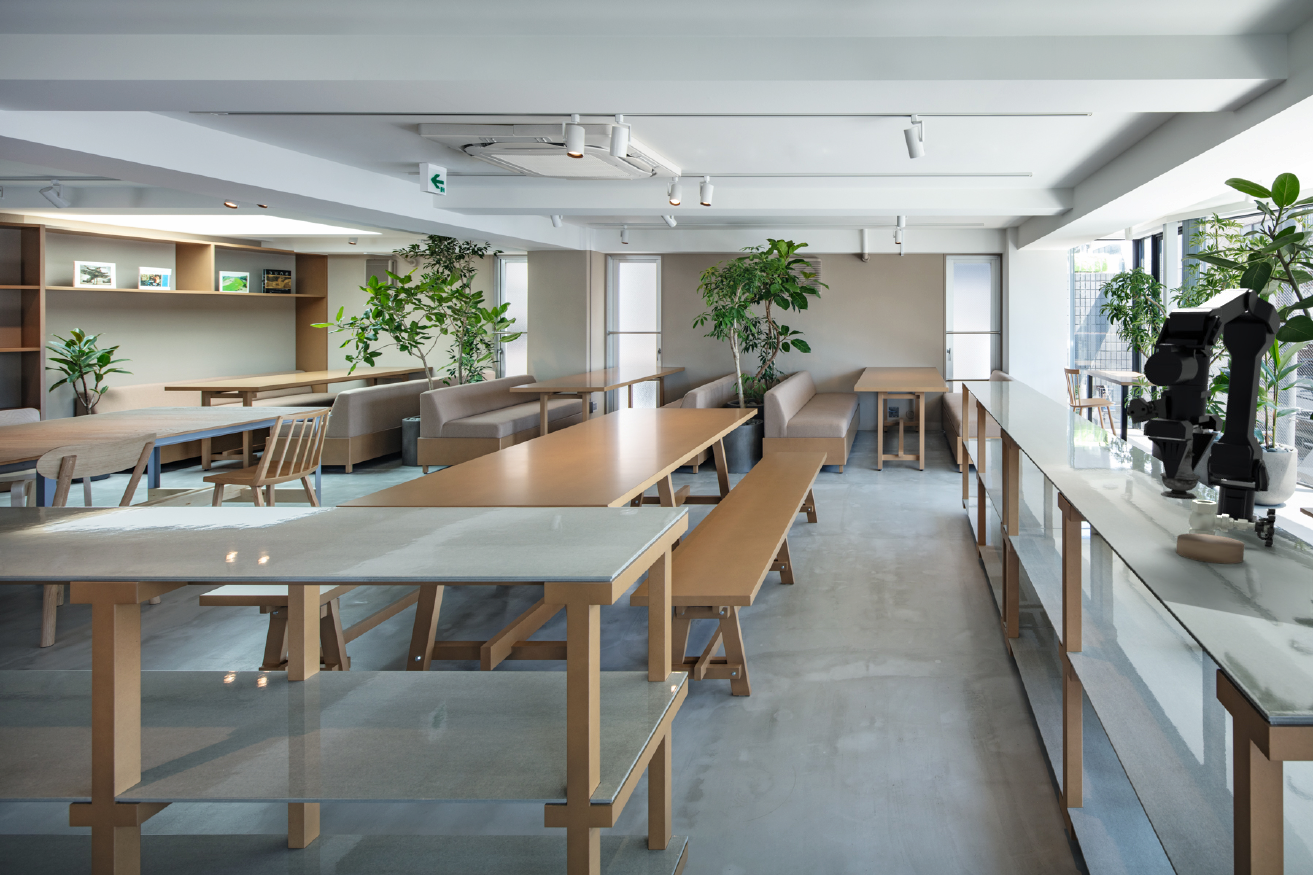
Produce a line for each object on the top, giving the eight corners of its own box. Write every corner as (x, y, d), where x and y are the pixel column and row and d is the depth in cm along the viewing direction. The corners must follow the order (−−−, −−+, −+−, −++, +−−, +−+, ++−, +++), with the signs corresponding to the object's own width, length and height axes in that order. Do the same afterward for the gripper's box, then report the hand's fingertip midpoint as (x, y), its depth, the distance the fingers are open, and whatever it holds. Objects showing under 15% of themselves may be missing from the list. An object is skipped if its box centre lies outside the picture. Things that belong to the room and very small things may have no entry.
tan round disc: (1181, 545, 141) (1182, 530, 140) (1246, 554, 135) (1247, 539, 135) (1171, 556, 134) (1172, 541, 134) (1239, 566, 128) (1241, 551, 128)
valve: (1186, 541, 144) (1272, 551, 138) (1189, 503, 143) (1276, 512, 137) (1187, 533, 150) (1270, 543, 143) (1191, 497, 149) (1274, 505, 142)
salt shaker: (1164, 498, 141) (1169, 428, 140) (1154, 491, 147) (1159, 423, 145) (1203, 500, 140) (1210, 429, 138) (1192, 493, 145) (1198, 425, 144)
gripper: (1156, 379, 153) (1149, 463, 155) (1113, 383, 141) (1107, 475, 143) (1227, 382, 144) (1219, 471, 146) (1188, 387, 133) (1179, 484, 135)
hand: (1179, 475), depth 143 cm, fingers closed on salt shaker, 8 cm apart
